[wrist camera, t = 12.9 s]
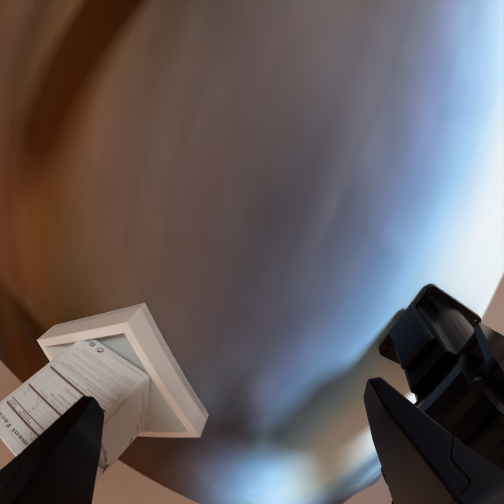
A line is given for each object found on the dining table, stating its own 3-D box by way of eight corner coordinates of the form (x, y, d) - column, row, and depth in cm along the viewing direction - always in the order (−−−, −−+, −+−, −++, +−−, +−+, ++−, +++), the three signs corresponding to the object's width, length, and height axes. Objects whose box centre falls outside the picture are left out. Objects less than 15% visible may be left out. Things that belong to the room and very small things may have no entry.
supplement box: (153, 419, 25) (74, 511, 15) (95, 379, 27) (14, 454, 16) (153, 375, 22) (46, 488, 11) (86, 329, 24) (-20, 414, 13)
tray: (144, 302, 24) (126, 321, 21) (208, 414, 27) (200, 437, 24) (54, 325, 27) (36, 340, 24) (114, 415, 30) (103, 433, 27)
